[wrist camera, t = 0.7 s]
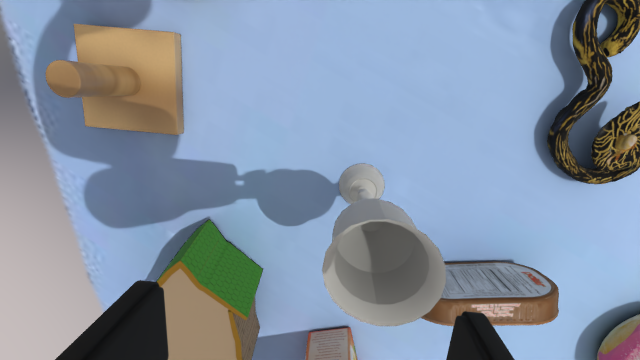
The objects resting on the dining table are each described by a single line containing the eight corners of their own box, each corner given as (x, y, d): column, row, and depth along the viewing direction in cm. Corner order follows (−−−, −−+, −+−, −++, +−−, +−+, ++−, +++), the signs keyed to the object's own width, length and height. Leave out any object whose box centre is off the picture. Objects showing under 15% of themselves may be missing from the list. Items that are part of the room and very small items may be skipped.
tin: (397, 282, 39) (413, 333, 31) (397, 259, 38) (413, 305, 30) (527, 278, 38) (578, 330, 30) (530, 254, 37) (584, 300, 29)
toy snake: (627, -34, 25) (746, -16, 25) (579, -18, 29) (681, -3, 30) (548, 185, 30) (647, 196, 31) (518, 171, 35) (605, 181, 35)
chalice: (316, 187, 36) (297, 276, 19) (357, 141, 35) (376, 193, 17) (365, 226, 37) (390, 346, 20) (407, 183, 36) (472, 273, 18)
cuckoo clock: (276, 390, 49) (258, 218, 37) (267, 450, 42) (241, 261, 30) (198, 389, 49) (155, 218, 37) (176, 449, 42) (114, 261, 30)
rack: (84, 26, 33) (-13, 2, 24) (181, 34, 33) (120, 13, 24) (95, 124, 36) (11, 137, 27) (184, 133, 35) (130, 148, 26)
